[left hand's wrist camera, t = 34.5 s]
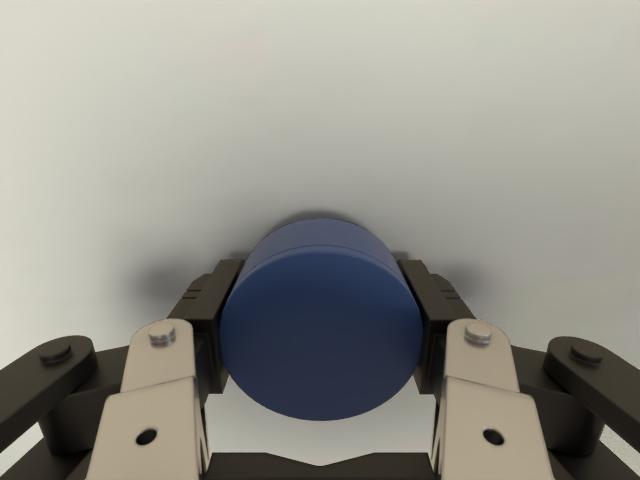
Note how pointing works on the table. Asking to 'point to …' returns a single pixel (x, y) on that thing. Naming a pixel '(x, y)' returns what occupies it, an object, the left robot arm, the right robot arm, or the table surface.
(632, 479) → the left robot arm
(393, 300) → the lid
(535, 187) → the table surface
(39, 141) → the table surface
